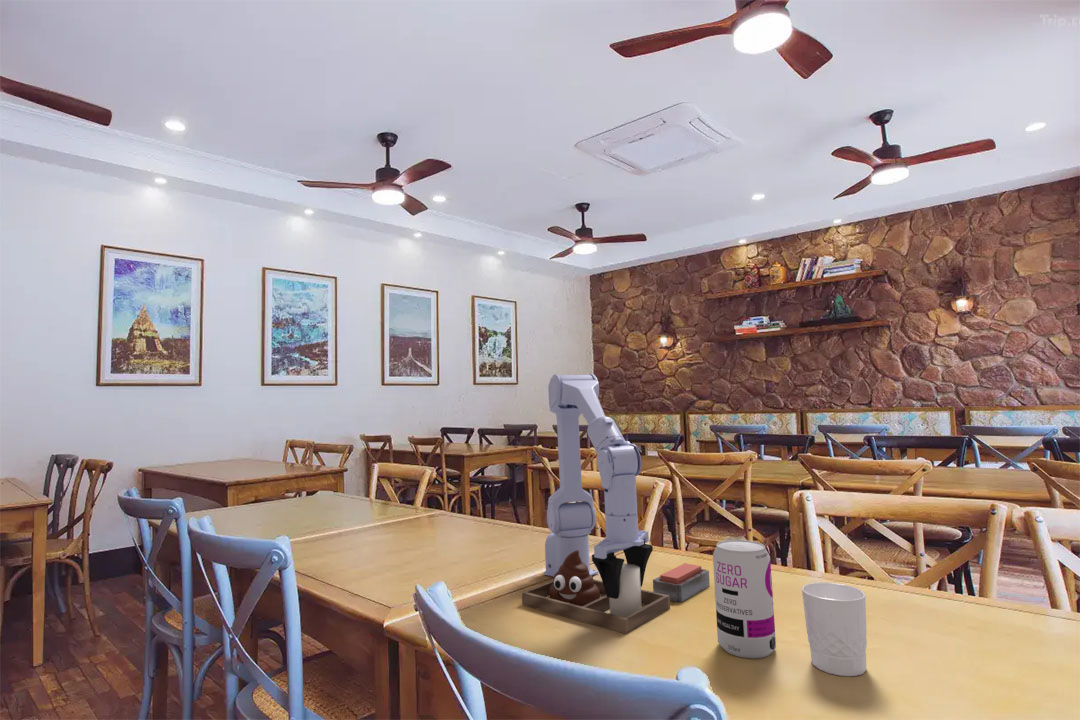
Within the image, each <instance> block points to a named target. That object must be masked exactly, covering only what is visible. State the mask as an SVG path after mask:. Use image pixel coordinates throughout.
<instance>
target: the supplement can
mask: <svg viewBox="0 0 1080 720" xmlns="http://www.w3.org/2000/svg"><path fill="white" fill-rule="evenodd" d="M746 540H747V539H746ZM746 540H727V541H724V540H721V541H719V542H717V543H716V547H715V548H714V551H713V553H712V559H713V561H712V562H713V563H712V564H713V579H714V580H713V581H714V597H715V600H714V601H715V613H716V630H717V631H716V633H717V643H718V644H719V646H720V647H721V648H722V649H723V650H724V651H725V652H726V653H728V654H730V655H733V656H735V657H738V658H740V657H741V658H745V659H763V658H766V657H769V656H771V654H772V653H773V652H774V651H775V650H776V649H777V642H776V641H777V640H776V637H777V636H776V624H775V609H774V595H773V594H774V593H773V579H772V578H773V577H772V564H771V556H770V554H769V552H768V551H767V548H766V545H765V544H763V543H761V542H758V541H751V540H747V541H746Z"/></svg>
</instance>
